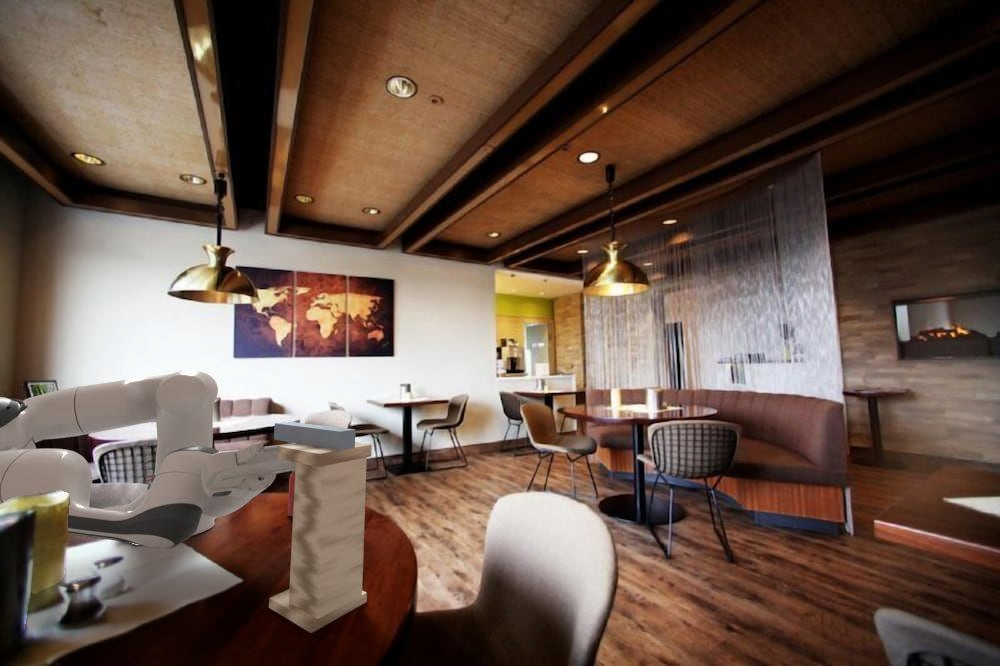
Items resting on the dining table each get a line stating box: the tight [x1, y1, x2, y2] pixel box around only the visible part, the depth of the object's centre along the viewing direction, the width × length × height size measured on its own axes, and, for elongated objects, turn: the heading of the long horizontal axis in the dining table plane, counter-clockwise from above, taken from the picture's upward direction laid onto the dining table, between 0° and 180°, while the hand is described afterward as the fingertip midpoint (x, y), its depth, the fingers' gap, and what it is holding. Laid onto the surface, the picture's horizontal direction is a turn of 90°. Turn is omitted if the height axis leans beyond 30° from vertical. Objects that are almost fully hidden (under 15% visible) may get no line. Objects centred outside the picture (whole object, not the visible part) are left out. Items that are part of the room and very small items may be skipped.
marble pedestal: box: [268, 441, 373, 634], centre depth 69 cm, size 12×10×26 cm
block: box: [273, 421, 356, 450], centre depth 73 cm, size 20×3×3 cm, turn 57°
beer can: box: [287, 470, 295, 518], centre depth 112 cm, size 7×7×12 cm
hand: (285, 443), depth 77 cm, fingers open, 8 cm apart
